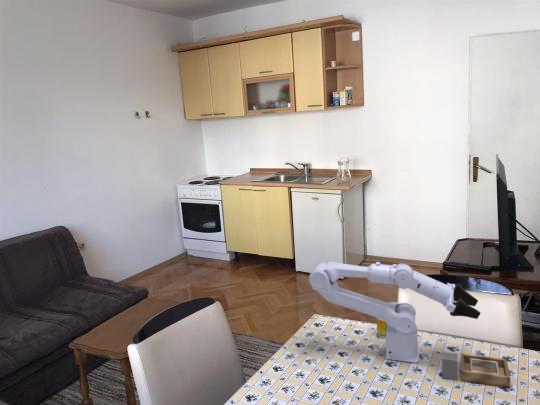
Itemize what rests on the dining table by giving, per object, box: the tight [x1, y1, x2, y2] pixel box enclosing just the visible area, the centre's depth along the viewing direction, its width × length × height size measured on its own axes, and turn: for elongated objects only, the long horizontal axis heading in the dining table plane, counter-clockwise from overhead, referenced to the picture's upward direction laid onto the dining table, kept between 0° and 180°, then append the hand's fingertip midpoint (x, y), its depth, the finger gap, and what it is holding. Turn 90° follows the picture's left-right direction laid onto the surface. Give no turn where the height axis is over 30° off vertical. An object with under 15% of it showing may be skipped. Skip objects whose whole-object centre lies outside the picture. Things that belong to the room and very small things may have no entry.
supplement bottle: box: [376, 317, 388, 339], centre depth 153 cm, size 5×5×10 cm
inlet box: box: [460, 353, 511, 389], centre depth 126 cm, size 12×10×3 cm
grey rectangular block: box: [441, 351, 459, 382], centre depth 127 cm, size 4×4×6 cm
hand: (477, 309), depth 130 cm, fingers open, 7 cm apart
